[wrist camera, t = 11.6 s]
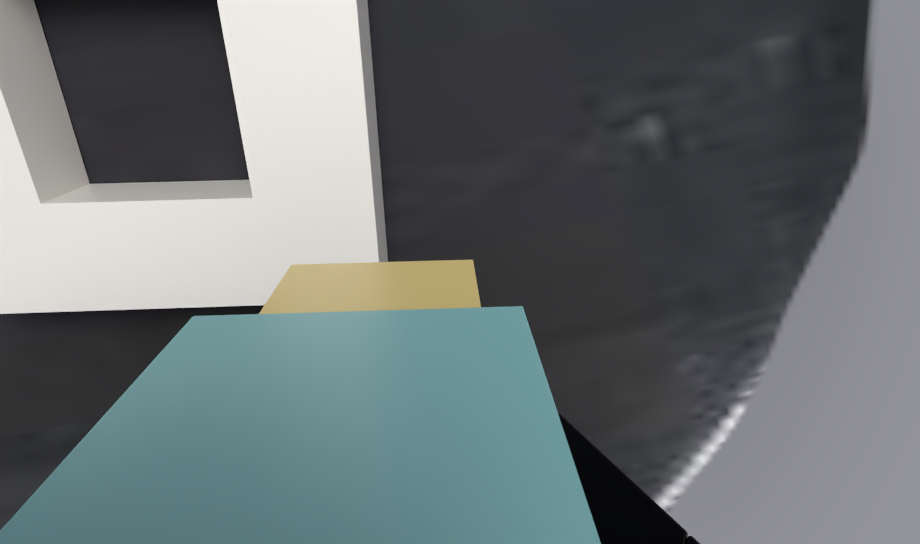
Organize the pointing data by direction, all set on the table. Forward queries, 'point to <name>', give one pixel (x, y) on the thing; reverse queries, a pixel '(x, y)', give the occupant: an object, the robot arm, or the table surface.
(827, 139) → the table surface
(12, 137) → the socket plate
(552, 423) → the plug
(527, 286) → the table surface
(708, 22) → the table surface
